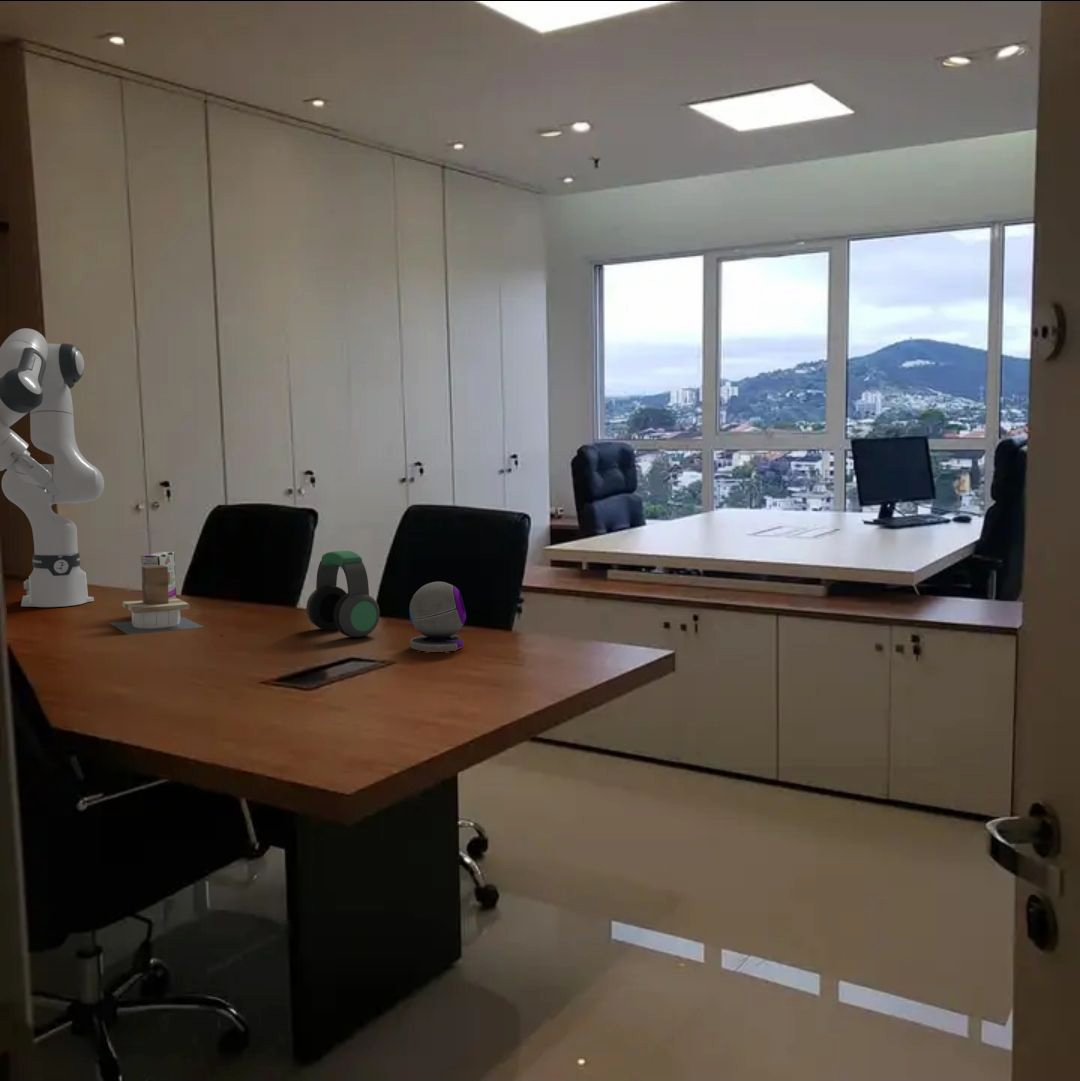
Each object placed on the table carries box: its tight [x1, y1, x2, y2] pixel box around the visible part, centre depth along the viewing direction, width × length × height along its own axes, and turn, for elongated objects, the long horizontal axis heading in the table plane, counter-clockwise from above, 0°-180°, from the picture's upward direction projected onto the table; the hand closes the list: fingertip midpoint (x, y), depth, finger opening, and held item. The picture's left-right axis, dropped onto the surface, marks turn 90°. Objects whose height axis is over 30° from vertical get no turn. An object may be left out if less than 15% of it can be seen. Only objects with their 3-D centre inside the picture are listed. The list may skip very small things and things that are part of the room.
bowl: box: [131, 610, 181, 629], centre depth 265 cm, size 11×11×4 cm
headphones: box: [305, 550, 381, 638], centre depth 258 cm, size 19×11×20 cm, turn 42°
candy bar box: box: [140, 551, 177, 598], centre depth 279 cm, size 11×5×16 cm, turn 179°
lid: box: [121, 565, 191, 613], centre depth 264 cm, size 13×13×10 cm
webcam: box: [408, 581, 467, 651], centre depth 242 cm, size 13×13×15 cm
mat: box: [109, 616, 204, 635], centre depth 265 cm, size 18×18×1 cm
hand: (55, 493), depth 259 cm, fingers open, 8 cm apart
